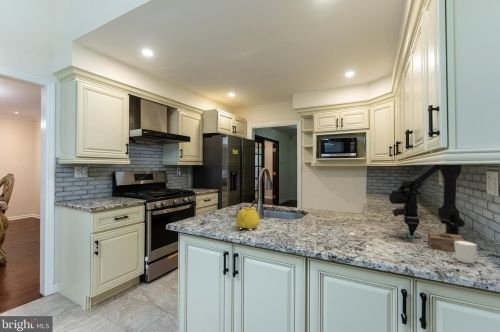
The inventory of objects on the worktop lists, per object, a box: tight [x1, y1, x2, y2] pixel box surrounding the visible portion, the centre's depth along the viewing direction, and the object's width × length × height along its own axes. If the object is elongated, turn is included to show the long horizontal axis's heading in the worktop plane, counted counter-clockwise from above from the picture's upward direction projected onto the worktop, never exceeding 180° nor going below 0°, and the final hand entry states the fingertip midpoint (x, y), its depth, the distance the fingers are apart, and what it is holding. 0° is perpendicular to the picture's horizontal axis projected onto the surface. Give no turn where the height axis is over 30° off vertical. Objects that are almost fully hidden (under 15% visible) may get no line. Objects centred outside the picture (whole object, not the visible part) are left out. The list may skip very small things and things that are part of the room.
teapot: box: [235, 206, 261, 230], centre depth 150 cm, size 14×20×13 cm
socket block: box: [427, 231, 466, 253], centre depth 112 cm, size 12×12×5 cm
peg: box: [407, 226, 416, 240], centre depth 126 cm, size 3×3×9 cm
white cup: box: [454, 240, 478, 264], centre depth 96 cm, size 7×7×7 cm
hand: (411, 233), depth 126 cm, fingers open, 9 cm apart
